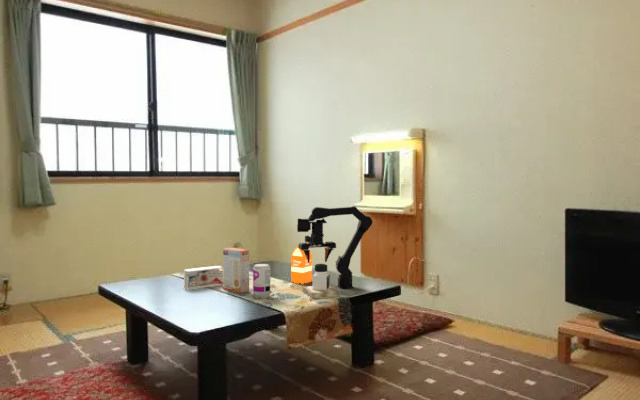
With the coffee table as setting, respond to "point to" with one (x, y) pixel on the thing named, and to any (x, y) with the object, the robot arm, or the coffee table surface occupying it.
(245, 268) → the cracker box
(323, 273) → the medicine bottle
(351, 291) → the coffee table surface
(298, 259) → the orange juice
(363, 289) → the coffee table surface
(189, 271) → the cigarette display
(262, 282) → the supplement can
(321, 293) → the pale wooden riser board
